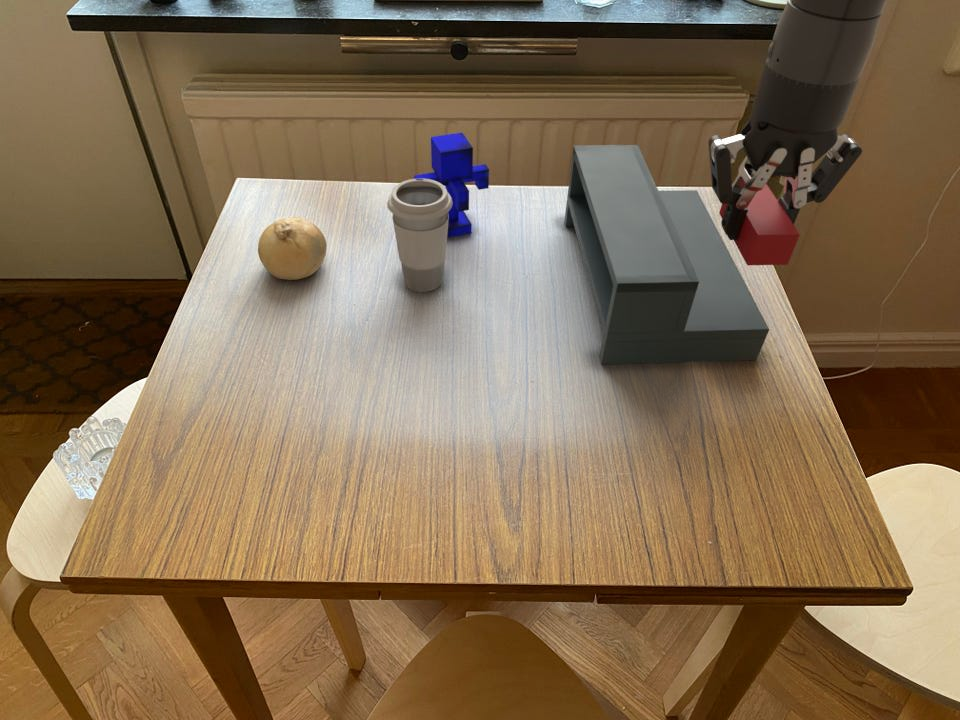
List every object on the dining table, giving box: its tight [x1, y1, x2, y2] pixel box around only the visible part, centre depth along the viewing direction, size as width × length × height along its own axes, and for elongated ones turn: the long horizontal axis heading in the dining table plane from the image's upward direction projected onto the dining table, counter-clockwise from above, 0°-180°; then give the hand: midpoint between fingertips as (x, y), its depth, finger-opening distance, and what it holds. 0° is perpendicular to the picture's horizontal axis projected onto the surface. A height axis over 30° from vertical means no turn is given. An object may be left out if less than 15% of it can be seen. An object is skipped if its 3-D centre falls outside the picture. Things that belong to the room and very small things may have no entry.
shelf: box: [564, 144, 770, 365], centre depth 81 cm, size 27×17×11 cm, turn 4°
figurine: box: [413, 132, 490, 238], centre depth 89 cm, size 8×8×12 cm
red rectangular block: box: [718, 183, 801, 266], centre depth 70 cm, size 9×4×4 cm, turn 4°
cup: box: [386, 178, 453, 293], centre depth 81 cm, size 7×7×12 cm
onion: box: [257, 217, 328, 281], centre depth 83 cm, size 8×8×7 cm
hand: (753, 234), depth 71 cm, fingers closed on red rectangular block, 4 cm apart
